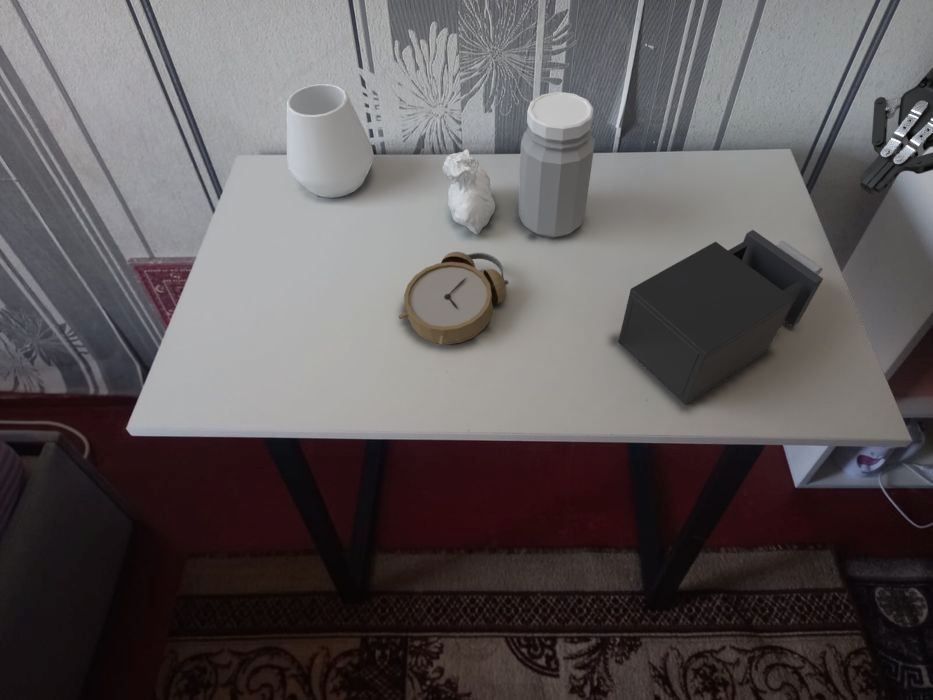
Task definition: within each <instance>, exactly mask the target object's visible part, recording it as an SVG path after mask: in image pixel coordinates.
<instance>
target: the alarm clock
mask: <svg viewBox="0 0 933 700" xmlns="http://www.w3.org/2000/svg"><path fill="white" fill-rule="evenodd" d="M478 259H479V260H484V261H489V262H491V263H493V264H494V265H495V266H496V267H497V268H498V269H499V271H500V272H499V271H497V270H495V269H493V268H487V269H483V271H480V270H479V269H478V268H477V267H476V265H475V262H474V260H478ZM508 284H509V280H508V279H505V278H504V267H503V265H502V263H501V262H500V261H499V259H498V258H496V257H495V256H493V255H492V254H488V253H484V252H474V253H469V254H468V253H464V252H460V251H454V252H449V253H446V255H445V256H444V257H443V258H442V260H441V262H440V263H435V264H433V265H430V266H428V267H425V268H424V269H422V270H421V271H419V272H418V273H417V274H415V275H414V276H413V277H412V278H411V280H410V281H409V282H408V284H407V286H406V288H405V292H404V294H403V299H404V308H405V310H406V312H403V313H401V314H399V315H398V320H401V319H405V318H407V320H408V322H409V324H410V326H411V328H412V330H413V331H414V332H415V333H416V334H417V335H418V336H419V337H420V338H422V339H424V340H426V341H429V342H431V343H432V344H433V343H434V344H439V345H440V346H441V347H442V346H443V345H453V344H461V343H464V342H466V341H468V340H470V339H471V340H472V339H473V338H475V337H476V336H478V335H479V334H480V333H481V332H483V331H484V330H485V328H486V327H487V325H488V324H489V322H490V321H491V318H492V314H493V310H494V307H493V303H494V304H495V305H498V304H500V303H501V302H503V300H504V299H505V297H506V295H507V285H508ZM492 301H493V302H492Z"/></svg>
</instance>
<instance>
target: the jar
mask: <svg viewBox="0 0 933 700" xmlns="http://www.w3.org/2000/svg"><path fill="white" fill-rule="evenodd" d="M594 111H595V108H594V107H593V105H592V104H591V102H590V101H589V99H587V98H584V97H582V96H580V95H578V94H576V93H574V92H563V91H554V92H550V93H543V94H540V95H538V96H537V97H536V98H534V99H533V100H531V101H530V103H529V105H528V108H527V111H526V124H527V127H526V130H525V131H524V133H523V136H522V138H521V142H520V151H519V152H520V154H519V155H520V156H519V158H520V159H519V160H520V161H519V183H518V184H519V185H518V212H517V213H518V216H519V218H520V221H521V222H522V223H521V224H522V225H523V226H524V227H525V228H527V229H528V230H529V231H531V232H533V233H534V234H535V235H537V236H539V237H545V238H553V239H554V238H558V237H564V236H568V235H569V234H571V233H572V232H574V231H575V230H576V229H578V228H579V227H581V225H583V224H584V219H585V215H586V209H587V202H588V195H589V187H590V181H591V175H592V174H591V173H592V165H593V157H594V151H595V145H596V144H595V143H596V140H595V138H594V137H593V136H592V133H591V132H592V128H593V127H592V123H593V119H594Z"/></svg>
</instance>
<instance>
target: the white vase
mask: <svg viewBox="0 0 933 700" xmlns="http://www.w3.org/2000/svg"><path fill="white" fill-rule="evenodd" d="M355 109H356V108H355V107H354V105H353V102H352V101H351V99H350V97H349V95H348V93H347V91H346V90H344V89H343V88H342V87H341V86H338V85H334V84H331V83H317V84H311V85H306V86H304V87H301V88H299V89H297V90H295V91H294V92H293V93H292V94H290V95H289V97H288V98H287V101H286V159H287V160H286V161H287V169H288V172H289V174H290V175H291V176H292V177H293V178H294V179H295V180H296V181H297V182H298V183H299V184H300V185H302V186H303V187H304V188H306V189H307V190H308V191H309V192H310V193H312V194H314V195H316V196H319V197H321V198H330V199H334V198H335V199H336V198H340V197H346V196H348V195H350V194H353V193H354V192H356V191H357V190H359V188H360V187H361V186H362V185H363V183H364V182H365V179H366V178H367V175H368V174H369V171H370V169H371V167H372V165H373V162H374V158H375V154H374V150H373V146H372V144H371V141H370V138H369V136H368V134H367V132H366V130H365V128H364V126H363V124H362V122H361V120H360V117H359V115H358V113H357V112H356V110H355Z"/></svg>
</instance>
